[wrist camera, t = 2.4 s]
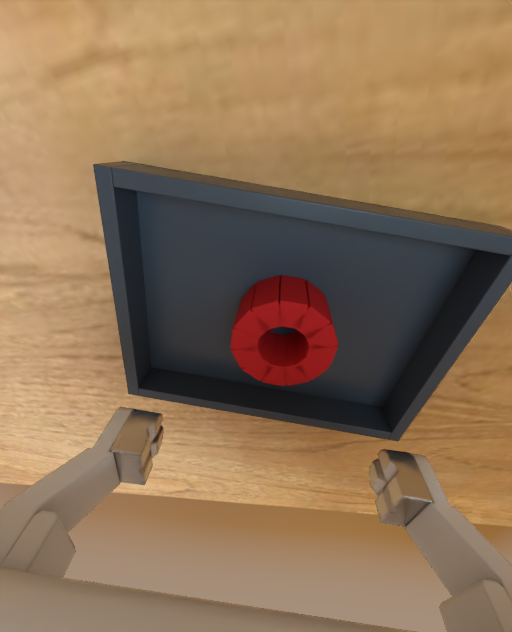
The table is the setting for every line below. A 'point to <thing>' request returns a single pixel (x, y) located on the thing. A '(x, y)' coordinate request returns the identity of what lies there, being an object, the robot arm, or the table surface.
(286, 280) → the ring
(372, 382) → the tray
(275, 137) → the table surface
